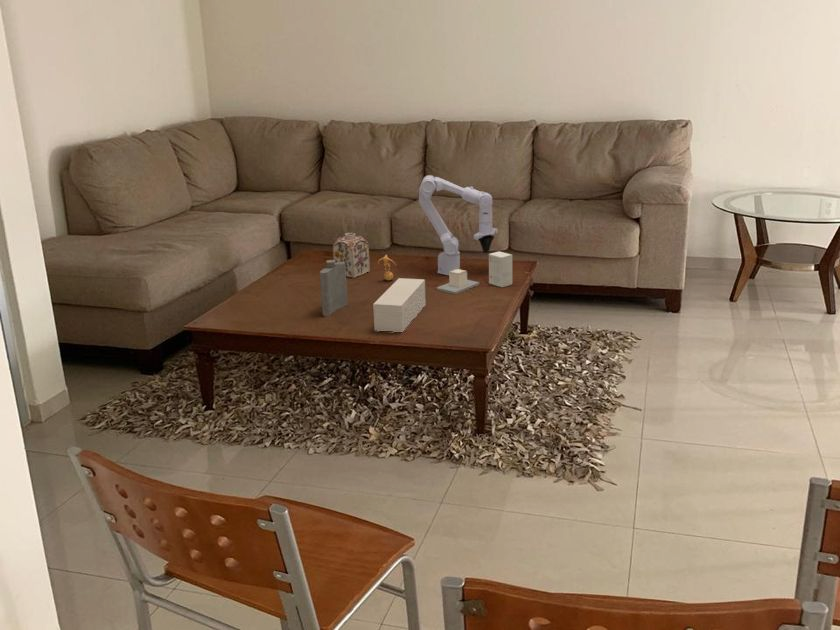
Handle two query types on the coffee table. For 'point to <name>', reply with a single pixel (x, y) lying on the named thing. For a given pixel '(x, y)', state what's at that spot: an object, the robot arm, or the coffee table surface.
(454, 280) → the beige cardboard cube
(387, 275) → the figurine
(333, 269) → the hip flask
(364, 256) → the decorative jar
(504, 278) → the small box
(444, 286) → the base board
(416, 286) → the long white block
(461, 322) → the coffee table surface
